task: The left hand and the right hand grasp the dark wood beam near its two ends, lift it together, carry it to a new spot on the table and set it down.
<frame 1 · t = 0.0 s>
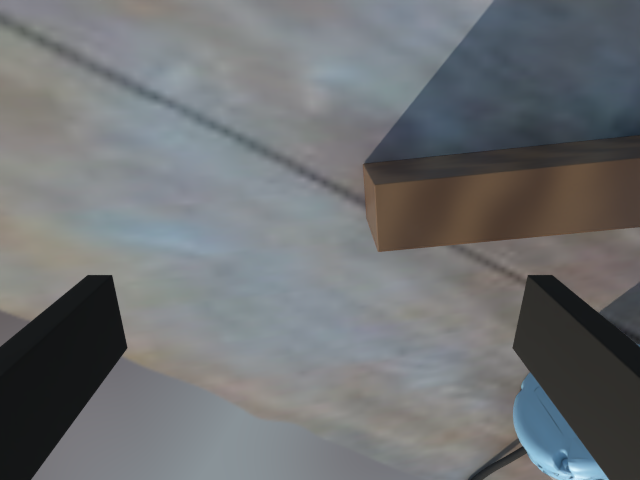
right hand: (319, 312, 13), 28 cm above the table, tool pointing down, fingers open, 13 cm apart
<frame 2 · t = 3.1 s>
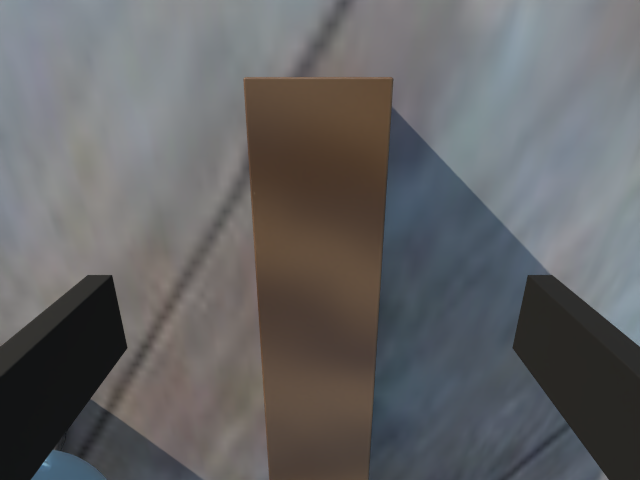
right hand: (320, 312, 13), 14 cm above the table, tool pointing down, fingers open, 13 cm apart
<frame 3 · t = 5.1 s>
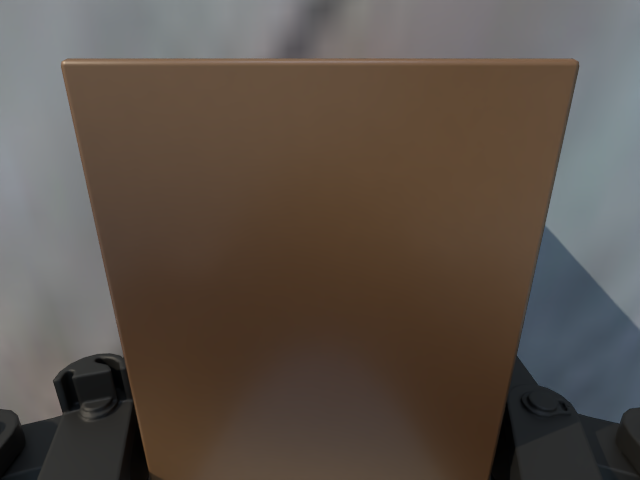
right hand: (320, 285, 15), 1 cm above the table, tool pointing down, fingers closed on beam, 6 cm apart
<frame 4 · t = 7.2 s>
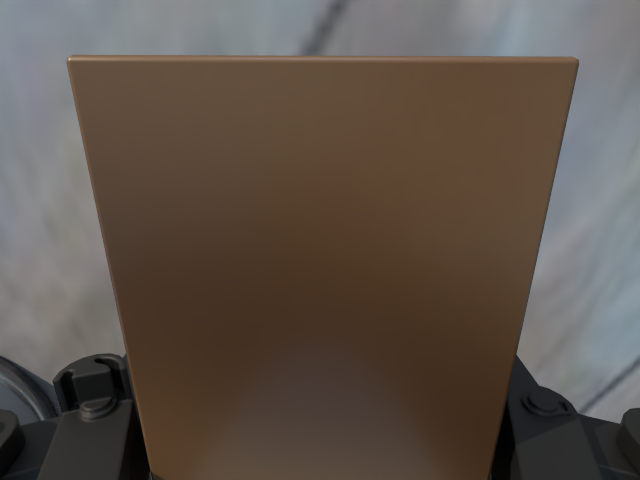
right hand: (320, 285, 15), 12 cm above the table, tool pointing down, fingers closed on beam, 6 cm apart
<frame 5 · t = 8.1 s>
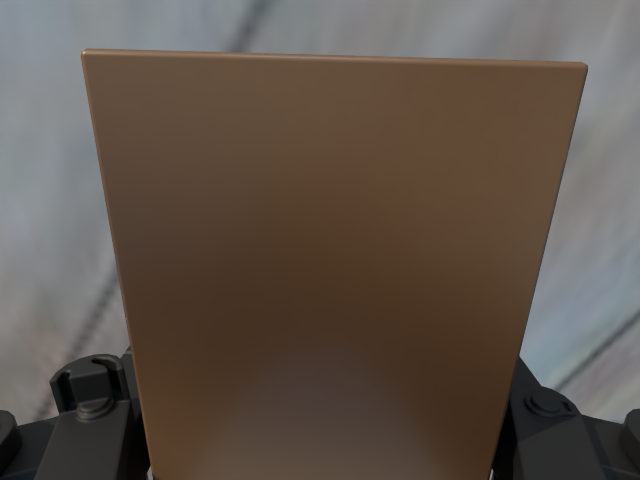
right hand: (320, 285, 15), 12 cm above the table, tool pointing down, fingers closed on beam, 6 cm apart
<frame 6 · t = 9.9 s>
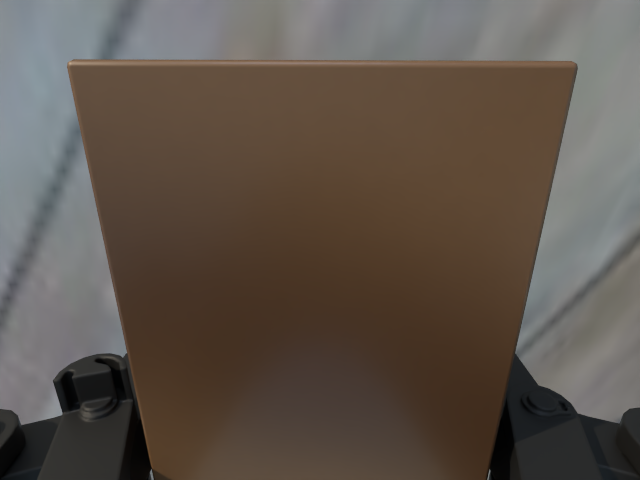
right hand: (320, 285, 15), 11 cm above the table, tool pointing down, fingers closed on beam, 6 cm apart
when the left hand's fingers open (2 cm above the table, at t = 11.4 s): beam drops 2 cm, on the table.
when the right hand's fingers open (2 cm above the table, at t = 11.4 s): beam drops 2 cm, on the table.
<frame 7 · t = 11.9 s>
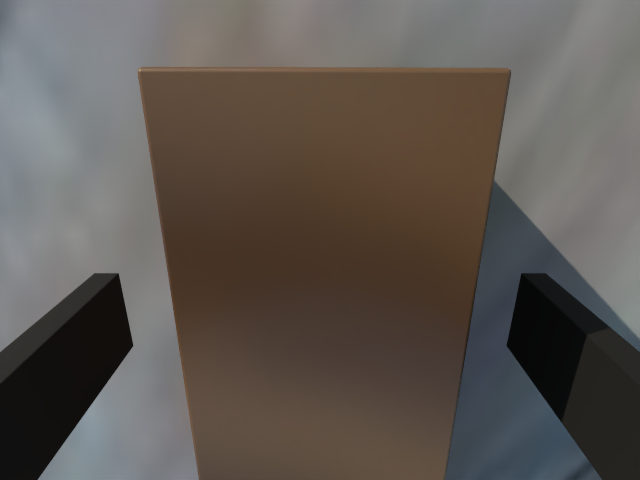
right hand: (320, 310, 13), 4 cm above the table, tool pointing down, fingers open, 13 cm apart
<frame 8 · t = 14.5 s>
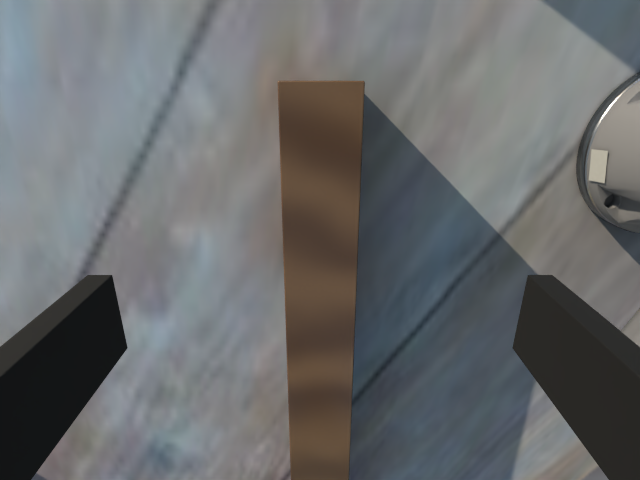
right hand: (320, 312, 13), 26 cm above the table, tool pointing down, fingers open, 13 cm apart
beam: (319, 403, 47), on the table
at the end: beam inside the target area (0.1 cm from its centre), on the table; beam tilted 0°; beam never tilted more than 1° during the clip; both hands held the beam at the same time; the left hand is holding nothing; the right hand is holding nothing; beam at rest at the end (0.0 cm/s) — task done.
